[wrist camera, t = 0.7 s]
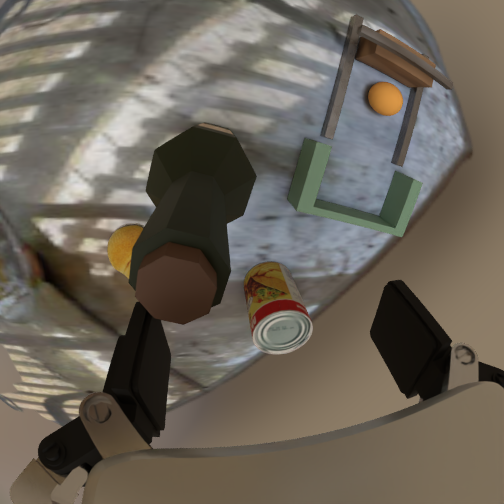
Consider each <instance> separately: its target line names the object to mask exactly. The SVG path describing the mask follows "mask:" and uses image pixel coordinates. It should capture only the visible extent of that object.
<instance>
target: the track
mask: <svg viewBox="0 0 504 504" xmlns="http://www.w3.org/2000/svg"><path fill="white" fill-rule="evenodd" d="M362 23H363V18H362V17H360V16H358V15H354V16H353V17H351V21H350V25H349V29H348V33H347V38H346V42H345V46H344V50H343V54H342V58H341V62H340V66H339V70H338V74H337V77H336V81H335V85H334V89H333V93H332V96H331V100H330V104H329V107H328V111H327V115H326V118H325V122H324V125H323V129H322V133H321V136H323V137H326V138H329V139H333V137H334V133H335V130H336V126H337V123H338V119H339V116H340V112H341V108H342V105H343V101H344V97H345V93H346V90H347V86H348V82H349V78H350V74H351V70H352V66H353V62H354V58H355V54H356V49H357V45H358V41H359V35H357V29H358V27H359V26H361V25H362ZM421 55H423V56H424V57H426V58H427V59H428V60H429V57H428V56H426V55H425V54H421ZM422 92H423V87H411V91H410V95H409V100H408V104H407V108H406V112H405V116H404V120H403V124H402V127H401V131H400V135H399V138H398V142H397V145H396V148H395V152H394V155H393V158H392V161H391V163H394V164H396V165H398V166H401V167H403V164H404V160H405V157H406V154H407V151H408V147H409V144H410V140H411V137H412V133H413V129H414V126H415V122H416V118H417V114H418V110H419V105H420V101H421V97H422Z"/></svg>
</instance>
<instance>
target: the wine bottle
mask: <svg viewBox="0 0 504 504" xmlns="http://www.w3.org/2000/svg"><path fill="white" fill-rule="evenodd" d="M256 177H257V176H256V174H255V172H254V170H253V168H252V166H251V164H250V162H249V160H248V159H247V157H246V155H245V153H244V151H243V149H242V147H241V145H240V144H239V142H238V140H237V138H236V137H235V136H234V135H233V133H232V132H231V131H230V130H229V129H227V128H224V127H220V126H216V125H212V124H209V123H202V124H199V125H196V126H193V127H192V128H190V129H188V130H186V131H185V132H183V133H181V134H179V135H178V136H176V137H174V138H173V139H171V140H169V141H168V142H166V143H165V144H163V145H161V146H160V147H158V148H157V149H155V151H154V155H153V159H152V163H151V168H150V172H149V177H148V181H147V186H146V192H147V194H148V196H149V197H150V199H151V200H152V202H153V203H154V205H155V206H156V209H155V210H154V212H153V214H152V215H151V217H150V219H149V220H148V222H147V224H146V225H145V227H144V229H143V230H142V232H141V234H140V236H139V237H138V239H137V241H136V243H135V244H134V246H133V248H132V255H131V264H130V273H129V284H130V285H131V286H132V287H133V289H134V290H135V291H136V294H135V297H136V298H137V299H138V301H139V302H140V303H141V304H142V305H143V306H144V307H145V309H146V310H147V311H148V312H149V313H150V314H151V315H152V316H153V317H154V318H156V319H160V320H164V321H169V322H174V323H178V324H183V325H184V324H186V323H188V322H191V321H193V320H195V319H197V318H200V317H202V316H204V315H206V314H209V312H210V309H211V307H213V306H216V305H218V304H220V303H221V300H222V297H223V294H224V291H225V288H226V285H227V282H228V279H229V276H230V273H231V267H230V256H229V245H228V234H227V224H228V223H229V222H231V221H233V220H235V219H237V218H239V217H241V216H243V215H244V212H245V209H246V206H247V203H248V200H249V197H250V194H251V192H252V189H253V186H254V183H255V180H256Z"/></svg>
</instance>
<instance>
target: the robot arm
mask: <svg viewBox="0 0 504 504" xmlns="http://www.w3.org/2000/svg"><path fill="white" fill-rule="evenodd" d="M370 335H371V338H372V340H373V342H374V343H375V345H376V347H377V349H378V350H379V352H380V354H381V356H382V358H383V359H384V361H385V363H386V365H387V367H388V369H389V370H390V372H391V374H392V376H393V378H394V380H395V381H396V383H397V385H398V387H399V389H400V391H401V392H402V393H403V394H405V396H406V398H407V399H408V398H411V397H414V396H416V395H417V394H419V396H420V400H419V403H418V404H415V405H413V406H410V407H408V408H406V409H403V410H400V411H397V412H395V413H392V414H389V415H386V416H383V417H380V418H377V419H374V420H371V421H368V422H364V423H361V424H358V425H354V426H351V427H347V428H343V429H339V430H335V431H331V432H327V433H322V434H318V435H313V436H308V437H303V438H297V439H292V440H285V441H279V442H272V443H264V444H256V445H246V446H232V447H216V448H179V449H178V448H175V449H174V448H173V449H153V448H152V447H151V445H150V443H151V442H152V437H160V430H164V428H165V416H166V404H167V392H168V382H169V372H170V363H171V353H170V349H169V346H168V343H167V340H166V336H165V333H164V330H163V326H162V323H161V320H160V319H156V318H154V317H153V316H152V315H151V314H150V313H149V312H148V311H147V310H146V309H145V307H144V306H143V305H142V304H141V303H140V302H136V304H135V307H134V310H133V313H132V316H131V319H130V322H129V325H128V328H127V332H126V335H121V336H120V337H119V338H118V341H117V344H116V347H115V350H114V353H113V357H112V360H111V364H110V367H109V371H108V374H107V378H106V381H105V385H104V389H103V392H94V393H92V394H89V395H88V396H86V397H85V398H84V399H83V401H82V402H81V404H80V407H79V415H80V416H79V417H77V418H76V419H74V420H72V421H71V422H69V423H68V424H66V425H65V426H63V427H61V428H60V429H58V430H57V431H55V432H53V433H52V434H50V435H49V436H47V437H45V438H44V439H43V440H42V441H41V443H40V445H39V448H38V456H39V457H38V458H37V460H35V459H34V458H33V459H32V461H31V462H30V463H29V464H28V465H27V467H26V468H25V469H24V470H23V472H22V473H21V474H20V475H19V476H18V478H17V479H16V480H15V482H14V483H13V484H12V486H11V488H10V497H11V500H12V502H13V503H14V504H73V503H74V501H75V499H76V497H77V496H78V495H79V494H78V493H77V492H78V491H79V490H80V488H81V487H85V488H84V492H83V498H82V504H504V371H503V370H501V369H499V368H496V367H493V366H490V365H487V364H484V363H482V362H479V361H478V355H477V353H476V351H475V350H474V349H473V348H472V347H471V346H469V345H468V344H465V343H457V344H455V345H454V346H453V347H451V346H450V344H451V342H452V340H451V339H450V338H449V336H448V335H447V334H446V332H445V331H444V330H443V329H442V327H441V326H440V325H439V324H438V322H437V321H436V320H435V319H434V317H433V316H432V315H431V314H430V312H429V311H428V310H427V309H426V308H425V306H424V305H423V304H422V303H421V302H420V300H419V299H418V298H417V297H416V296H415V295H414V293H413V292H412V291H411V290H410V289H409V288H408V287H407V285H406V284H405V283H404V282H403V281H402V280H395V281H390V282H388V283H387V285H386V286H385V287H384V290H383V293H382V297H381V300H380V303H379V306H378V309H377V312H376V315H375V318H374V321H373V324H372V327H371V330H370Z"/></svg>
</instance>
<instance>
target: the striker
mask: <svg viewBox="0 0 504 504" xmlns="http://www.w3.org/2000/svg"><path fill="white" fill-rule="evenodd" d="M357 35H359V36H362V37H360V41H359V45H358V49H357V53H356V58H355V59H356V60H359V61H361V62H363V63H365V64H367V65H369V66H371V67H373V68H375V69H377V70H379V71H381V72H383V73H385V74H386V75H388V76H390V77H392V78H394V79H395V80H397V81H399V82H401V83H402V84H404V85H406V86H407V87H432V83H433V79H434V80H435V81H436V82H438V83H439V84H440V85H442V86H443V87H444V88H446V89H451V90H452V86H453V82H452V81H450V80H449V79H448V78H447V77H445V76H444V75H443V74H441V73H440V72H439V71H437V70H436V69H435V66H436V65H435V64H434V63H433V62H431V61H430V60H428V59H427V58H426V57H424V56H423V55H421V54H420V53H418V52H417V51H415V50H414V49H412V48H411V47H409V46H408V45H406V44H405V43H403V42H401V41H400V40H398V39H396V38H395V37H393V36H391V35H390V34H388V33H386V32H384V31H383V30H381V29H379V30H377V31H374V30H372V29H370V28H368V27H366V26H364V25H361V26H359V27H358V29H357Z"/></svg>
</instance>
